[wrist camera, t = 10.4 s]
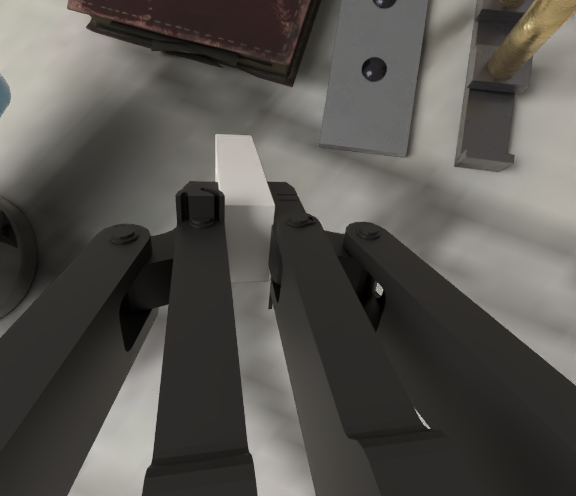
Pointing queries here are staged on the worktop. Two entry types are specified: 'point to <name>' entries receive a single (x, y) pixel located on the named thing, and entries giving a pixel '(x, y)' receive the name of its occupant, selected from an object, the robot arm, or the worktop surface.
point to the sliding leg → (517, 48)
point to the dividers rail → (488, 94)
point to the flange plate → (374, 76)
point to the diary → (213, 30)
